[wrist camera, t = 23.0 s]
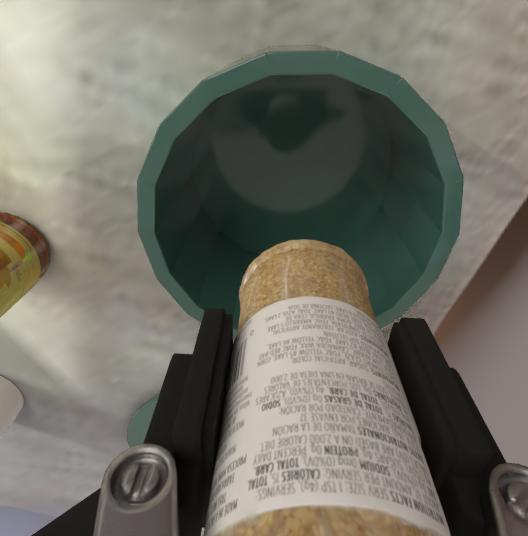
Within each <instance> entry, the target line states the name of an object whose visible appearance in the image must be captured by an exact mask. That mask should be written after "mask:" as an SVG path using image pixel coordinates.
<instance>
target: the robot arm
mask: <svg viewBox="0 0 528 536" xmlns="http://www.w3.org/2000/svg"><path fill="white" fill-rule="evenodd" d="M232 347H233V315H232V314H226V310H225V309H222V308H205V311H204V314H203V318H202V322H201V326H200V329H199V333H198V337H197V341H196V344H195V348H194V352H193V354H174V355H173V356H172V359H171V361H170V364H169V367H168V370H167V373H166V376H165V379H164V382H163V385H162V388H161V391H160V394H159V397H158V400H157V403H156V406H155V410H154V413H153V416H152V419H151V422H150V425H149V428H148V431H147V434H146V437H145V440H144V443H143V444H140V445H137V446H133V447H131V448H129V449H127V450H125V451H123V452H122V453H120V454H119V455H118V456H117V457H116V458H115V459H114V460H113V461H112V462H111V464H110V465H109V467H108V468H107V470H106V471H105V474H104V477H103V480H102V484H101V488H100V489H98V490H97V491H96V492H94V493H93V494H91V495H90V496H88V497H87V498H85V499H84V500H82V501H81V502H80V503H78V504H77V505H75V506H74V507H72V508H71V509H69V510H68V511H66V512H65V513H64V514H62V515H61V516H59V517H58V518H56V519H55V520H54V521H52V522H51V523H49V524H48V525H46V526H45V527H43V528H42V529H40V530H39V531H37V532H36V533H35V534H33V535H32V536H201V530H202V527H205V524H206V518H207V511H208V504H209V498H210V491H211V485H212V478H213V474H214V467H215V461H216V454H217V448H218V441H219V434H220V427H221V420H222V413H223V406H224V399H225V392H226V386H227V379H228V373H229V366H230V360H231V353H232ZM388 347H389V350H390V352H391V355H392V358H393V361H394V364H395V366H396V369H397V372H398V375H399V378H400V381H401V383H402V386H403V389H404V392H405V395H406V397H407V400H408V403H409V406H410V409H411V412H412V414H413V417H414V420H415V423H416V426H417V429H418V432H419V434H420V438H421V448H422V451H423V453H424V456H425V459H426V462H427V465H428V468H429V471H430V474H431V477H432V480H433V483H434V486H435V489H436V492H437V494H438V497H439V500H440V503H441V506H442V509H443V512H444V515H445V518H446V521H447V524H448V527H449V531H450V534H451V536H528V467H526V466H523V465H520V464H514V463H506V461H505V459H504V458H503V455H502V454H501V452H500V450H499V448H498V446H497V444H496V442H495V440H494V439H493V437H492V435H491V433H490V431H489V429H488V427H487V425H486V424H485V422H484V420H483V418H482V416H481V414H480V412H479V410H478V408H477V407H476V405H475V403H474V401H473V399H472V398H471V395H470V393H469V392H468V390H467V388H466V386H465V384H464V382H463V380H462V378H461V377H460V375H459V373H458V372H457V371H456V370H455V369H453V368H449V366H448V364H447V362H446V360H445V358H444V356H443V354H442V352H441V350H440V348H439V346H438V344H437V342H436V340H435V338H434V336H433V335H432V333H431V331H430V329H429V327H428V325H427V323H426V321H425V320H424V319H420V318H401V320H400V322H399V323H397V322H395V323H394V324H393V327H392V330H391V334H390V338H389V341H388Z"/></svg>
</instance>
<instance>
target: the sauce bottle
mask: <svg viewBox="0 0 528 536" xmlns="http://www.w3.org/2000/svg"><path fill="white" fill-rule="evenodd" d="M49 262H50V253H49V249H48V245H47V243H46V241H45V240H44V238H43V237H42V236H41V235H40V233H39V232H38V231H37V230H36V229H35V228H33V227H32V226H31V225H30V224H29V223H27V222H26V221H24V220H22V219H20V218H18V217H17V216H12V215H11V214H8V213H0V317H1V316H2V315H4V314H5V313H6V312H7V311H8V310H9V309H10V308H11V307H12V306H13V305H14V304H15V303H16V302H17V301H18V300H19V299H21V298H22V297H23V296H24V295H25V294H26V293H27V292H28V291H29V290H30V289H31V288H32V287H33V286H34V285H35V284H36V283H37V281H38V279H39V278H41V277H42V276H43V275H44V273H45V271H46V269H47V268H48V265H49Z"/></svg>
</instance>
